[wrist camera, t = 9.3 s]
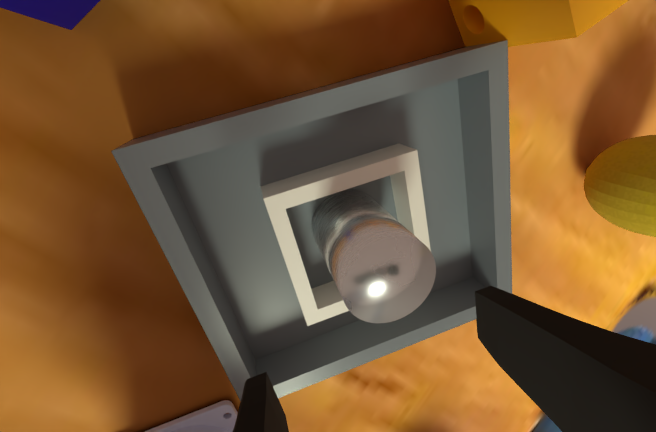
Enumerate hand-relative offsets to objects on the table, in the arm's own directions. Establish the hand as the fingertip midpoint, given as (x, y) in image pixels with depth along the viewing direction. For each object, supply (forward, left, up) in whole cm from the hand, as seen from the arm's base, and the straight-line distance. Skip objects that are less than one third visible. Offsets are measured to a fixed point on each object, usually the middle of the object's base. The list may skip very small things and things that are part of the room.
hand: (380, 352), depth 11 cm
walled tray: (0, -2, -9) cm, 9 cm away
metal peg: (0, -2, -9) cm, 9 cm away
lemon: (-2, -19, -10) cm, 21 cm away
